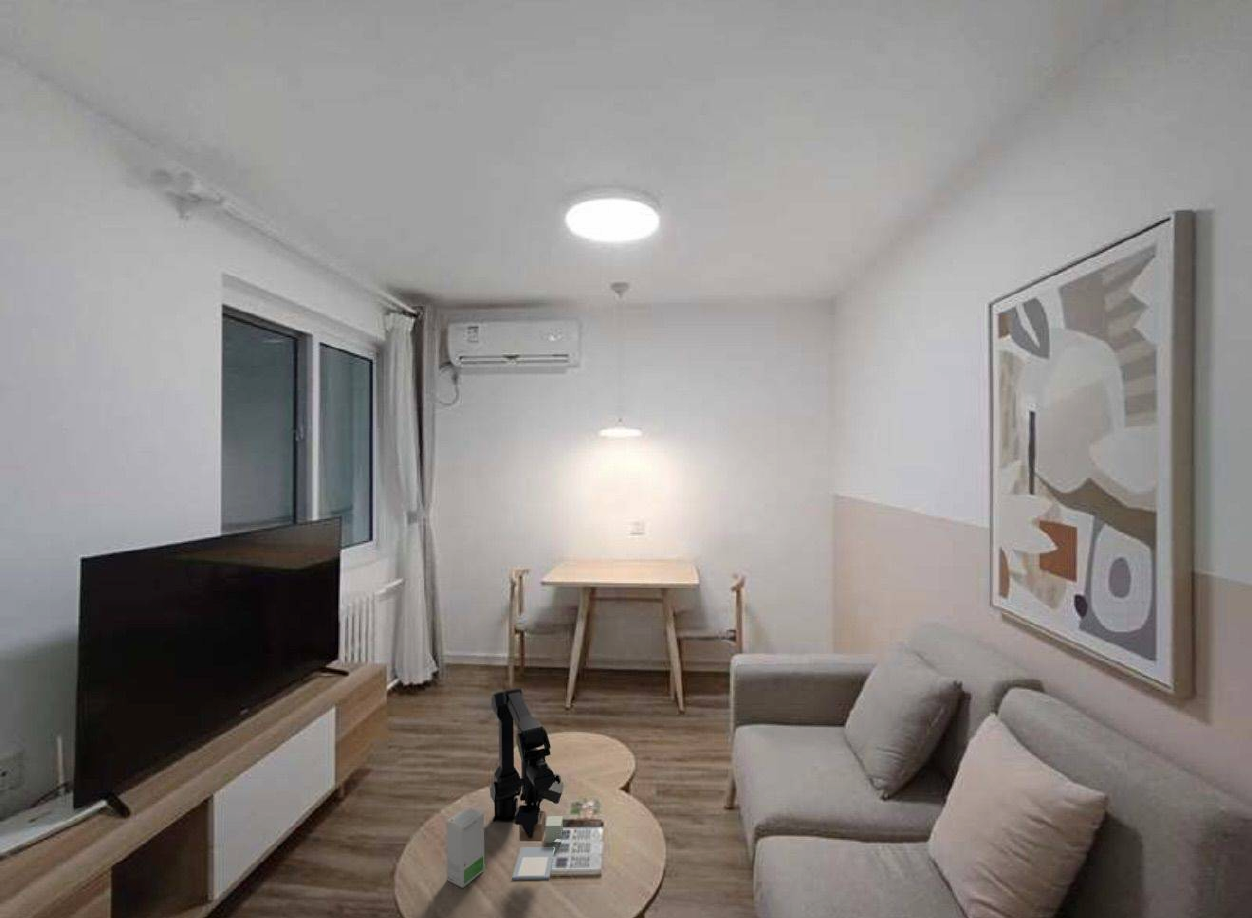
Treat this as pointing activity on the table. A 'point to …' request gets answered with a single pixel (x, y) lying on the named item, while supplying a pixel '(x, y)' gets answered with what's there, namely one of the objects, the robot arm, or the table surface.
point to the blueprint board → (533, 863)
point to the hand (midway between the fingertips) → (532, 830)
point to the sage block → (553, 828)
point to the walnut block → (535, 829)
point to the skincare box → (465, 846)
